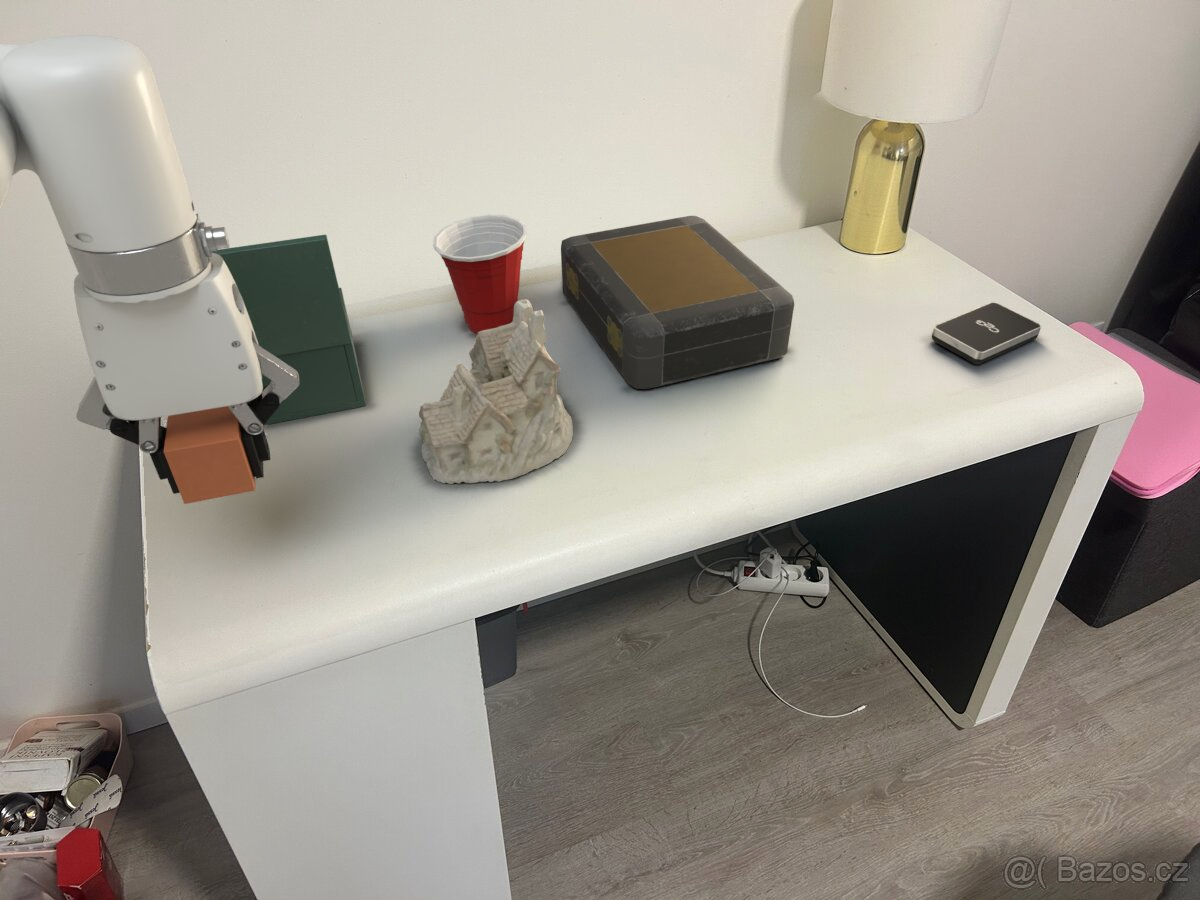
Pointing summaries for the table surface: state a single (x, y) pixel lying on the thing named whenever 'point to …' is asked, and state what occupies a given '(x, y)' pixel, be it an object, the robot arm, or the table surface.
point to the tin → (321, 381)
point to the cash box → (674, 300)
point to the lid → (290, 293)
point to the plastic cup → (484, 267)
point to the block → (207, 455)
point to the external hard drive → (985, 332)
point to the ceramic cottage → (498, 408)
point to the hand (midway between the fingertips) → (219, 472)
